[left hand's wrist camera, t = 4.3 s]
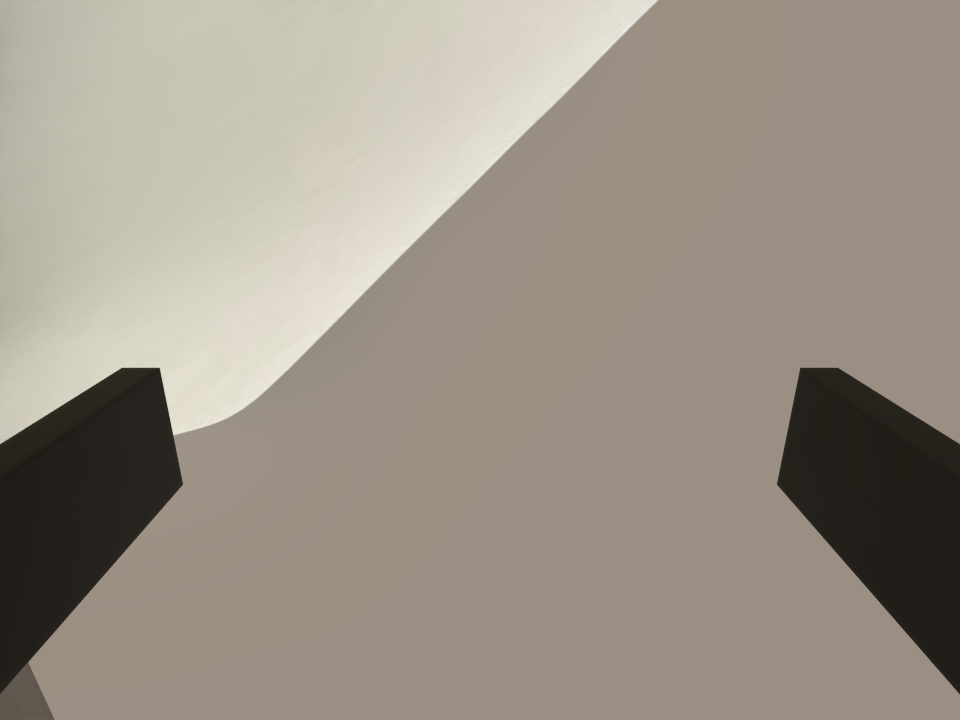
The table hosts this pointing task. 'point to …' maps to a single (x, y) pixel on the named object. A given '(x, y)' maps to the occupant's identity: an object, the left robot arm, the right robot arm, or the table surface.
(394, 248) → the table surface
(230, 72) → the table surface
